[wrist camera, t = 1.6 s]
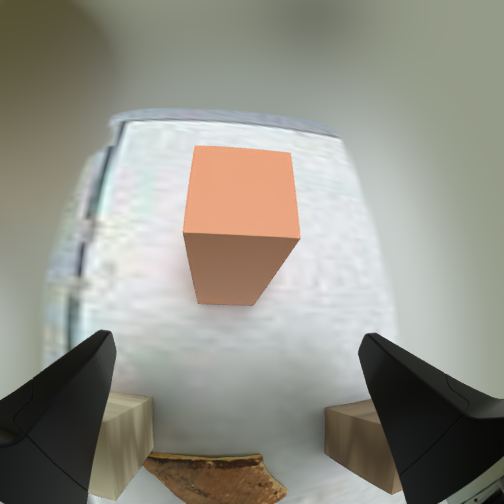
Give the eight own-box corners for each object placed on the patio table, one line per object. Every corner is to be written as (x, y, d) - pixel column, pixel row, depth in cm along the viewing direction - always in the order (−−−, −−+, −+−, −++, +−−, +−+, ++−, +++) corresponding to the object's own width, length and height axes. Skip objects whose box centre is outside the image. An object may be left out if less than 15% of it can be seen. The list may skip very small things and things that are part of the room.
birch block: (154, 447, 16) (115, 500, 7) (103, 438, 15) (40, 474, 6) (152, 397, 18) (105, 422, 9) (100, 389, 17) (29, 400, 8)
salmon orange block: (253, 305, 22) (300, 238, 10) (198, 303, 21) (182, 232, 10) (252, 254, 24) (290, 152, 12) (200, 252, 23) (194, 145, 12)
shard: (134, 448, 16) (128, 454, 14) (201, 397, 19) (200, 400, 17) (228, 524, 14) (229, 534, 12) (293, 478, 17) (299, 485, 15)
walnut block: (369, 442, 18) (445, 467, 9) (324, 453, 17) (391, 494, 8) (370, 399, 20) (452, 406, 11) (325, 407, 19) (398, 428, 10)
